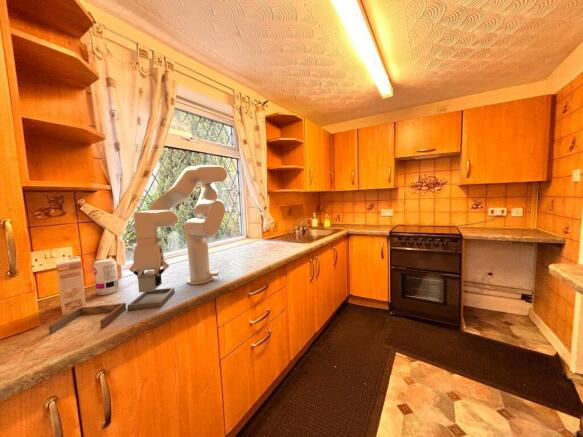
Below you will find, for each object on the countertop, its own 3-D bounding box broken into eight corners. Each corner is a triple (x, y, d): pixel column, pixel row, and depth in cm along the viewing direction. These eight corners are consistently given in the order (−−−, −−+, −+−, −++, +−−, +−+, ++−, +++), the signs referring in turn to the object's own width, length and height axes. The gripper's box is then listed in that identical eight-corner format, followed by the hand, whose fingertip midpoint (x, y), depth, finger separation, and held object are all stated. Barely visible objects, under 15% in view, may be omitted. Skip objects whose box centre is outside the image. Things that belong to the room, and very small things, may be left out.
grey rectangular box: (162, 283, 102) (161, 269, 102) (153, 291, 93) (151, 276, 93) (149, 284, 101) (147, 270, 101) (138, 292, 92) (137, 277, 92)
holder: (126, 309, 91) (125, 302, 91) (103, 327, 78) (102, 320, 77) (80, 313, 89) (80, 307, 89) (49, 333, 75) (48, 326, 75)
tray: (174, 291, 107) (174, 287, 107) (160, 307, 91) (160, 302, 91) (146, 294, 105) (146, 290, 105) (127, 310, 90) (127, 305, 90)
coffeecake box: (87, 309, 92) (81, 260, 91) (61, 316, 87) (55, 264, 86) (84, 299, 103) (78, 255, 101) (61, 305, 98) (55, 258, 96)
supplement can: (94, 297, 105) (90, 263, 104) (99, 291, 112) (95, 260, 111) (117, 293, 109) (113, 260, 107) (120, 287, 116) (117, 257, 115)
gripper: (172, 238, 101) (175, 280, 102) (129, 241, 99) (133, 284, 100) (166, 241, 94) (169, 286, 95) (119, 244, 91) (123, 290, 92)
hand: (150, 285), depth 97 cm, fingers closed on grey rectangular box, 5 cm apart
